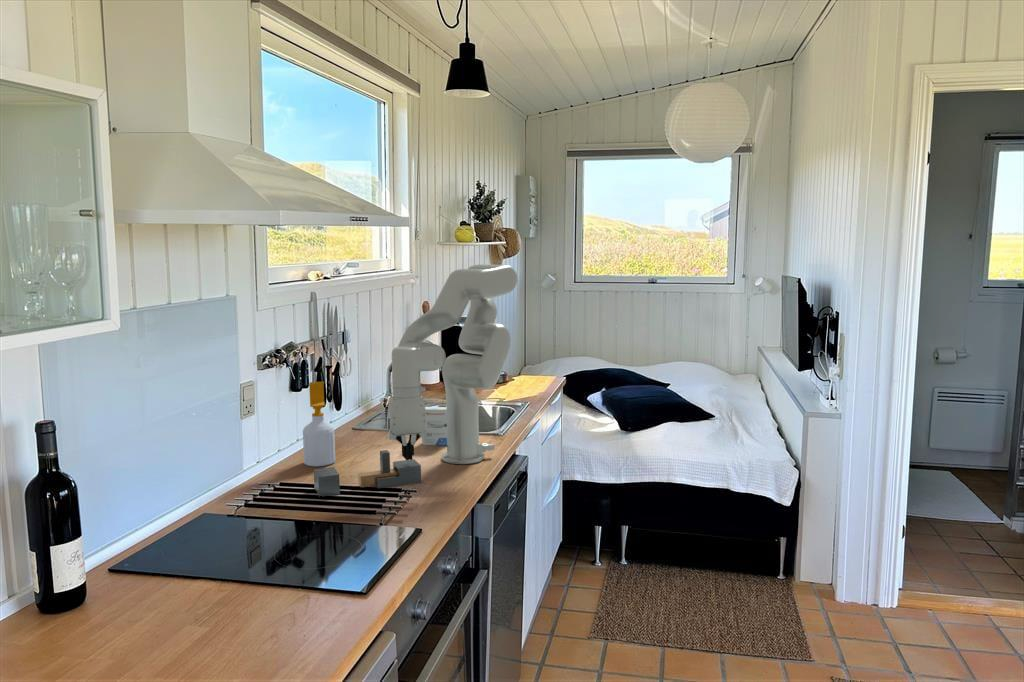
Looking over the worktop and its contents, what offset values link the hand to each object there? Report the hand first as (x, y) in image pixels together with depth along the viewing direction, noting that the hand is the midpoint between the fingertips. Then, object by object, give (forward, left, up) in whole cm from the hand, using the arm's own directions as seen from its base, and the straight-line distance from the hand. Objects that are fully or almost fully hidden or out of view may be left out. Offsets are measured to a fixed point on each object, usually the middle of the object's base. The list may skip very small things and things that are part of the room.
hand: (408, 458), depth 212 cm
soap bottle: (+19, -28, -6) cm, 34 cm away
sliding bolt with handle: (+5, 0, -6) cm, 8 cm away
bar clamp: (+10, 0, -6) cm, 12 cm away
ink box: (-19, -34, -6) cm, 39 cm away
